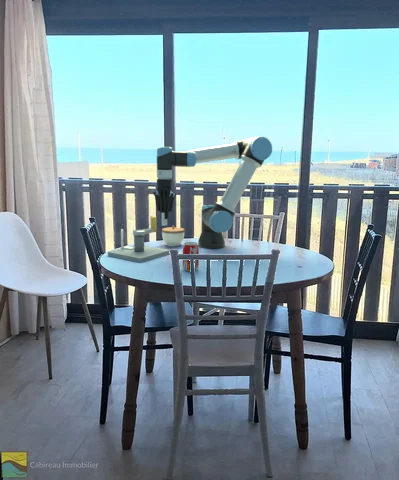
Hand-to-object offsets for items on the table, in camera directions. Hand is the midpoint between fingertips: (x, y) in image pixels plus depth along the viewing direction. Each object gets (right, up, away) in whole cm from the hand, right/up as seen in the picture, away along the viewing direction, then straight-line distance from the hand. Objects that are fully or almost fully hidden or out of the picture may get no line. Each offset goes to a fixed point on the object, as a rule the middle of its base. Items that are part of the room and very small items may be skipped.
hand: (164, 225), depth 209 cm
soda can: (+14, -21, -28) cm, 38 cm away
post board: (-13, -15, -2) cm, 20 cm away
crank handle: (-10, -4, 0) cm, 11 cm away
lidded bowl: (+3, -11, +22) cm, 25 cm away
